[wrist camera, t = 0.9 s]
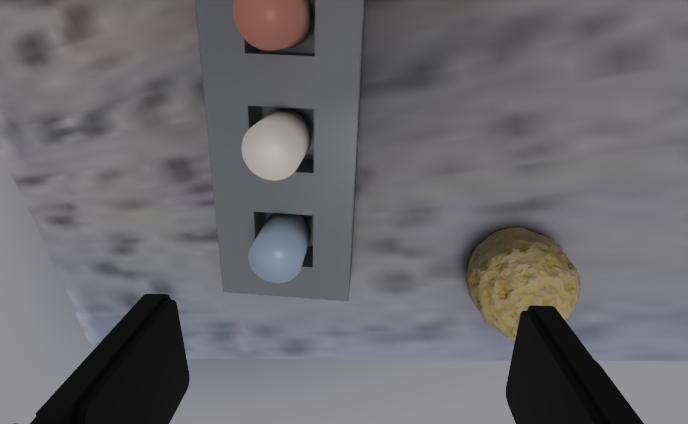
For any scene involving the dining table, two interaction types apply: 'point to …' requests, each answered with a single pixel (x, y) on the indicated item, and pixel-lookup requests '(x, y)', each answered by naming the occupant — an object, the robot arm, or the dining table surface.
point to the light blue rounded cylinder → (280, 248)
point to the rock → (520, 277)
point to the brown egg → (273, 22)
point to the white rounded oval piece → (276, 145)
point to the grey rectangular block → (317, 165)
